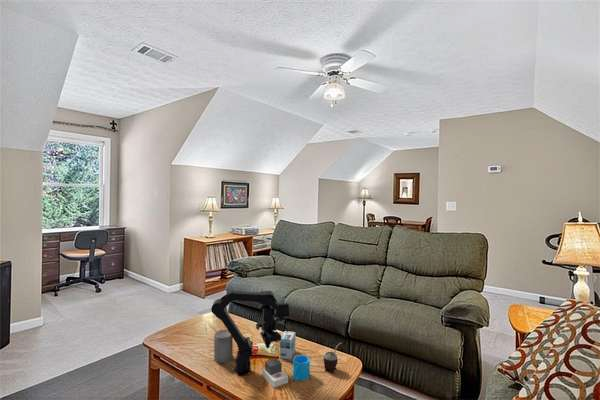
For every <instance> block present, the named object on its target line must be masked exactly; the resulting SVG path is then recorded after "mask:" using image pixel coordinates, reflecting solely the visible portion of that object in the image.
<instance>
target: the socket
mask: <svg viewBox="0 0 600 400" xmlns="http://www.w3.org/2000/svg"><path fill="white" fill-rule="evenodd" d="M261 373H262V374H261V375H262V377H263V378H265V380H266V381H267V382H268V383H269V384H270V385H271V387H272V388H274V389H275V388H277V387H279V386H280V387H281V386H282V385H286V384H288V383H289V376H288V374H286V373H285V371H283V370H282V371H281V372H278V373H275V374H272V375H269V374H268V373H267V371H266V370H265V367H264V368H262V371H261Z"/></svg>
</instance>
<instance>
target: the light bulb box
mask: <svg viewBox="0 0 600 400" xmlns="http://www.w3.org/2000/svg"><path fill="white" fill-rule="evenodd" d="M296 337H297V335H296V332H295V331H287V330H283V334H282V335H281V340H279V359H283V360H284V359H286V360H293V358H294V354H295V352H296Z"/></svg>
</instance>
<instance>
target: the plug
mask: <svg viewBox="0 0 600 400" xmlns="http://www.w3.org/2000/svg"><path fill="white" fill-rule="evenodd" d="M282 365H283V364H282V362H281V361H280V360H279V359H278V358H276V357H275V358H273V359H269V360H266V361H264V368H265V370H266V371H267V373H268V374H269V375H272V374H275V373H278V372H281V371H283V370H282Z"/></svg>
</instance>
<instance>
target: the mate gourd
mask: <svg viewBox="0 0 600 400" xmlns="http://www.w3.org/2000/svg"><path fill="white" fill-rule="evenodd" d="M341 344H343V342H339V343H338V344H336V346H335V349H334V352H333V351H327V352H325V354H324V355H323V365H324V372H329V371H330V372H331V373H332V374H334V373H335V371H334V370H336V369H337V368H336V367H337V365H338V362H339V361H338V356H337V354H336V351H337V349H338V347H339V346H340V345H341Z"/></svg>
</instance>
